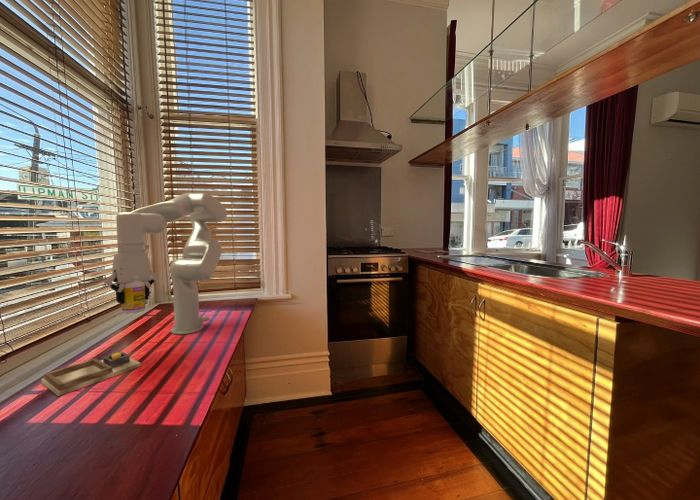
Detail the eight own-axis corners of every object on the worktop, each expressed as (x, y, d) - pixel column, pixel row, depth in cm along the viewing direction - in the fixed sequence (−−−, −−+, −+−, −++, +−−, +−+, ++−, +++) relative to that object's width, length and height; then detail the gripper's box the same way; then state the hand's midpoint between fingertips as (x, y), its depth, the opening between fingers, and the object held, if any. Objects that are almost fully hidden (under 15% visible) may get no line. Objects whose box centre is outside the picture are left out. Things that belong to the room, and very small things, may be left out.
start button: (119, 359, 99) (118, 352, 99) (122, 361, 98) (122, 353, 98) (110, 362, 97) (110, 354, 97) (114, 364, 96) (113, 356, 95)
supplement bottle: (133, 314, 99) (131, 276, 98) (116, 313, 100) (115, 275, 100) (150, 309, 106) (149, 273, 105) (134, 308, 107) (133, 272, 106)
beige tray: (121, 357, 104) (121, 347, 104) (140, 366, 98) (140, 356, 97) (41, 383, 87) (40, 371, 87) (58, 396, 80) (57, 383, 80)
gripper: (152, 247, 111) (154, 295, 112) (95, 250, 96) (97, 305, 97) (164, 248, 107) (165, 297, 108) (105, 250, 92) (108, 308, 93)
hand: (133, 300), depth 103 cm, fingers closed on supplement bottle, 6 cm apart
